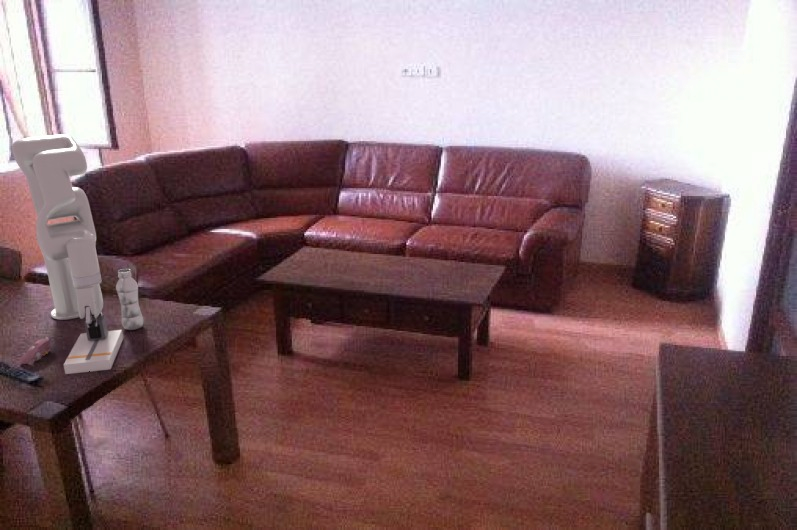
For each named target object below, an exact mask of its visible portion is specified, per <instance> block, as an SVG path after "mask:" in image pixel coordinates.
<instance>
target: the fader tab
mask: <svg viewBox="0 0 797 530" xmlns="http://www.w3.org/2000/svg"><path fill="white" fill-rule="evenodd" d="M97 319H98V325H100V330H101V335H102V337H101V338H96V339H90V336H89V331H88V326H87V324H86V319H85V321H84V322H83V323H84V328H85V333H86V334H87V339H88V340H98V339H106V337H107V335H108V331H109V329H108V326H107V325H108V324H107V318H106V314H104V315H103V314H102V316H98V317H97ZM93 320H94V321H95V319H92V321H93Z"/></svg>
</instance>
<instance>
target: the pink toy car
mask: <svg viewBox="0 0 797 530" xmlns="http://www.w3.org/2000/svg"><path fill="white" fill-rule="evenodd" d="M55 343H56V340H55V339H54V338H52V337H48V336H45V338H41V339H37V341H35V342H34V344H33V345H31V346H30V347H29V348H28V350H27V351H26V352H25V353H24V354H23V355H22V356H20V358H19V362H20V364H22V365H26V364H29V363H31V362H32V361H33V360H34V361H36V362H38V361H39V360H40V359H41V357H42V356H44V357H45V356H47V355H48V354H49V352H50V350H51V349H52V348H53V346H54V345H55ZM46 354H47V355H46Z"/></svg>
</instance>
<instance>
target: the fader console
mask: <svg viewBox="0 0 797 530" xmlns="http://www.w3.org/2000/svg"><path fill="white" fill-rule="evenodd" d="M123 340H124V335H123V329H114V330H108V335H107V337H106V339H98V340H88V339H87V334H86V332H84V333H80V335H79V336H78V338H77V340H76V342H74V345H73V347H72V348H71V350H70V352H69V354H68V356H67V357H66V359H65V362H63V368H64V369H63V370H64V373H65V375H68V374H69V375H71V374H78V373H80V374H81V373H88V372H89V371H90V372H97V371H107V370H111V369H112V367H113V364H114V362H115V360H116V357H117V355H118V352H119V350H120V348H121V346H122V342H123Z"/></svg>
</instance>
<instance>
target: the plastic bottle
mask: <svg viewBox="0 0 797 530" xmlns="http://www.w3.org/2000/svg"><path fill="white" fill-rule="evenodd" d="M117 273H118V275H117V277H118V278H119V279H118V281H117V283H116V285H115V290H116V293H117V295H118V300H119V303H120V309H121V324H122V328H124V329H125V330H126V331H135V330H138V329H141V328H142V327H143V324H144V317H143V315H142V311H141V308H140V305H139V285H138V282H137V281H136V280H135V279H134V278H133V277H132V273H131V269H130V268H122V269H119V270H117Z"/></svg>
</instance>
